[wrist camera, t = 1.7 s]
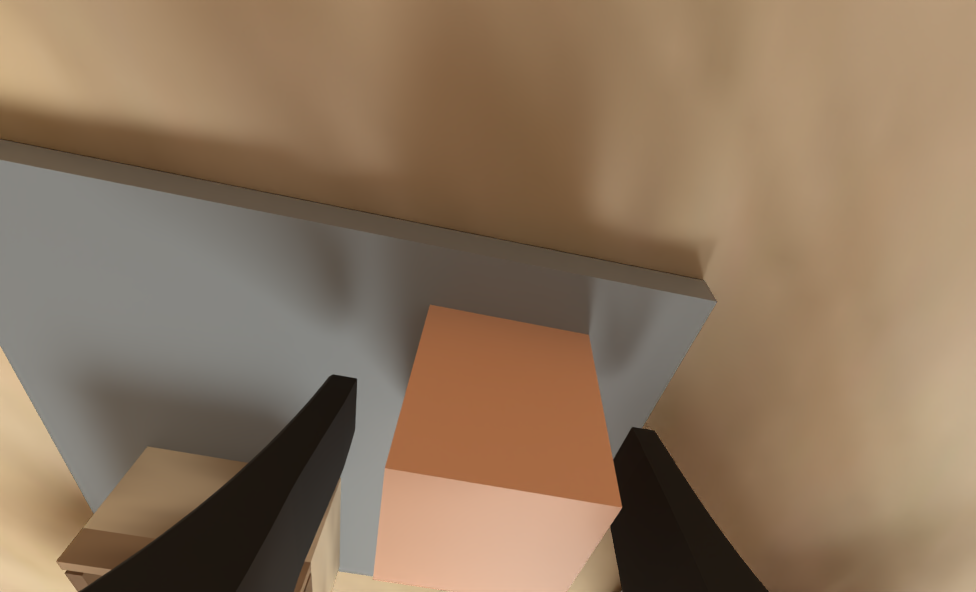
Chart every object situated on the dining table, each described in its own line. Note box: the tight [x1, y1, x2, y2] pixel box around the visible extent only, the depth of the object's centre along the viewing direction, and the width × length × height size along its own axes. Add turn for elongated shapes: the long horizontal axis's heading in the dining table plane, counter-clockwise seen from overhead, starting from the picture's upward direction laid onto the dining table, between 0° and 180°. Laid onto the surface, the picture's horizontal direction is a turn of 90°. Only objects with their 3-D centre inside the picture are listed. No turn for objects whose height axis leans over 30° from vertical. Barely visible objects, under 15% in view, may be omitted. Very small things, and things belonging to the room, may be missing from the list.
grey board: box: [0, 139, 717, 576], centre depth 17 cm, size 20×18×1 cm
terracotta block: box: [373, 305, 622, 592], centre depth 12 cm, size 4×4×5 cm
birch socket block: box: [56, 446, 341, 592], centre depth 17 cm, size 7×7×4 cm
